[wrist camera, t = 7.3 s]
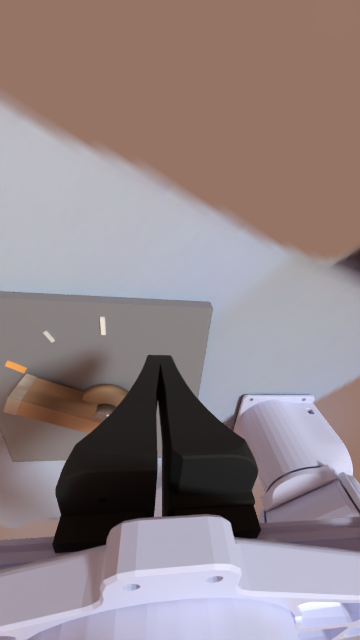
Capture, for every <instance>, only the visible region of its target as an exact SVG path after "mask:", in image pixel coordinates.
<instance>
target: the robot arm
mask: <svg viewBox="0 0 360 640" xmlns="http://www.w3.org/2000/svg"><path fill="white" fill-rule="evenodd" d="M314 399H315V398H314V397H313V396H312V395H245V396H243V398H242V401H241V405H240V408H239V412H238V416H237V419H236V423H235V426H234V430H233V431H232V430H231V429H229V428H228V427H227V426H225V425H224V424H223V423H222V422H220V421H219V420H218V419H217V418H216V417H215V416H214V415H213V414H212V413H211V412H210V411H208V410H207V408H206V407H205V406H204V405H203V404H202V403H201V402H200V401H199V400H198V398H197V397H196V396H195V395H194V393H193V392H192V391H191V389H190V388H189V387H188V385H187V384H186V382H185V381H184V379H183V377H182V376H181V374H180V372H179V371H178V369H177V367H176V365H175V362H174V360H173V357H172V356H171V355H148V356H147V358H146V361H145V364H144V366H143V368H142V370H141V372H140V374H139V376H138V378H137V380H136V381H135V383H134V384H133V386H132V388H131V389H130V391H129V392H128V393H127V395H126V396H125V397H124V399H123V400H122V401H121V402H120V404H119V405H118V406H117V407H116V408H115V409H114V410H113V412H112V413H111V414H110V415H109V416H108V417H107V418H106V419H105V420H104V421H103V422H101V423H100V424H99V425H98V426H97V427H96V428H95V429H94V430H93V431H92V432H90V433H89V434H88V435H87V436H85V437H84V438H83V439H82V440H80V441H79V442H78V443H77V444H75V446H74V448H73V450H72V451H71V453H70V455H69V457H68V459H67V461H66V463H65V465H64V467H63V469H62V472H61V475H60V478H59V480H58V483H57V486H56V498H57V501H58V505H59V509H60V512H61V517H60V520H59V524H58V527H57V530H56V534H55V537H41V538H26V539H11V540H0V640H360V485H359V483H358V482H357V480H356V479H355V478H354V477H353V476H352V475H353V466H352V462H351V458H350V456H349V453H348V451H347V449H346V447H345V445H344V444H343V442H342V441H341V439H340V438H339V437H338V435H337V434H336V433H335V432H334V430H333V429H332V428H331V426H330V425H329V424H328V422H327V421H326V420H325V418H324V417H323V416H322V415H321V413H320V412H319V411H318V409H317V408H316V407H315V405H314V404H313V402H314ZM157 404H158V406H159V416H160V426H161V436H162V517H154V510H155V497H156V483H157V418H156V413H157ZM257 475H258V476H259V478H260V481H261V484H262V487H263V489H264V492H265V494H264V495H263V496H261V500H262V503H263V506H264V509H262V510H261V511H260V513H259V521H258V518H257V515H256V512H255V509H254V504H255V500H254V496H253V494H252V488H253V486H254V483H255V480H256V478H257Z"/></svg>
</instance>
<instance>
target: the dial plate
mask: <svg viewBox="0 0 360 640" xmlns="http://www.w3.org/2000/svg"><path fill="white" fill-rule="evenodd" d="M212 311H213V307H212V305H211V304H210V302H200V301H181V300H161V299H141V298H121V297H101V296H81V295H61V294H41V293H21V292H1V291H0V429H1V432H2V434H3V437H4V440H5V442H6V445H7V447H8V450H9V453H10V455H11V458H12V461H13V462H24V461H58V460H67V459H68V457H69V455H70V453H71V451H72V450H73V448H74V446H75V444H77V443H78V442H79V441H80V440H82V439H83V438H84V437H85V436H87V435H88V433H84V432H81V431H77V430H73V429H69V428H66V427H62V426H58V425H54V424H50V423H47V422H43V421H39V420H35V419H32V418H28V417H24V416H20V415H13V414H9V413H5V412H3V411H4V408H5V405H6V402H7V399H8V397H9V395H10V394H11V393H12V391H13V390H14V389H15V388H16V386H17V385H18V384H19V382H20V381H21V380H22V378H23V377H24V376H25V374H26V373H27V374H30V375H33V376H36V377H37V378H40V379H43V380H46V381H49V382H52V383H56V384H59V385H62V386H65V387H68V388H72V389H75V390H78V391H81V392H85V391H86V390H87V389H89V388H91V387H93V386H96V385H100V384H112V385H117V386H120V387H122V388H124V389H126V390H127V391H130V389H131V388H132V386H133V384H134V383H135V381H136V380H137V378H138V376H139V374H140V372H141V370H142V368H143V366H144V364H145V361H146V358H147V356H148V355H171V356H172V357H173V360H174V362H175V365H176V367H177V369H178V371H179V372H180V374H181V376H182V377H183V379H184V381H185V382H186V384H187V385H188V387H189V388H190V389H191V391H192V392H193V393H194V395H195V396H196V397H197V398H198V395H199V389H200V383H201V377H202V371H203V365H204V359H205V353H206V347H207V341H208V335H209V329H210V323H211V317H212ZM156 418H157V458H162V436H161V426H160V416H159V406H158V404H157V413H156Z"/></svg>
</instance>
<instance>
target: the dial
mask: <svg viewBox="0 0 360 640" xmlns="http://www.w3.org/2000/svg"><path fill="white" fill-rule="evenodd" d="M128 392H129V391H127V390H126V389H124V388H122V387H120V386H117V385H112V384H100V385H96V386H93V387H91V388H89V389H87V390H86V391H85V392H81V391H78V390H75V389H72V388H68V387H65V386H62V385H59V384H56V383H52V382H49V381H46V380H43V379H40V378H37V377H36V376H33V375H30V374H27V373H26V374H25V376H24V377H23V378H22V380H21V381H20V382H19V384H18V385H17V386H16V388H15V389H14V390H13V391H12V393H11V394H10V395H9V397H8V399H7V402H6V405H5V408H4V411H3V412H5V413H9V414H13V415H20V416H24V417H28V418H32V419H35V420H39V421H43V422H47V423H50V424H54V425H58V426H62V427H66V428H69V429H73V430H77V431H81V432H84V433H88V434H89V433H90V432H92V431H93V430H94V429H95V428H96V427H97V426H98V425H99V424H100V423H101V422H103V421H104V420H105V419H106V418H107V417H108V416H109V415H110V414H111V413H112V412H113V410H114V409H115V408H116V407H117V406H118V405H119V404H120V402H121V401H122V400H123V399H124V397H125V396H126V395H127V393H128Z"/></svg>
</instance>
